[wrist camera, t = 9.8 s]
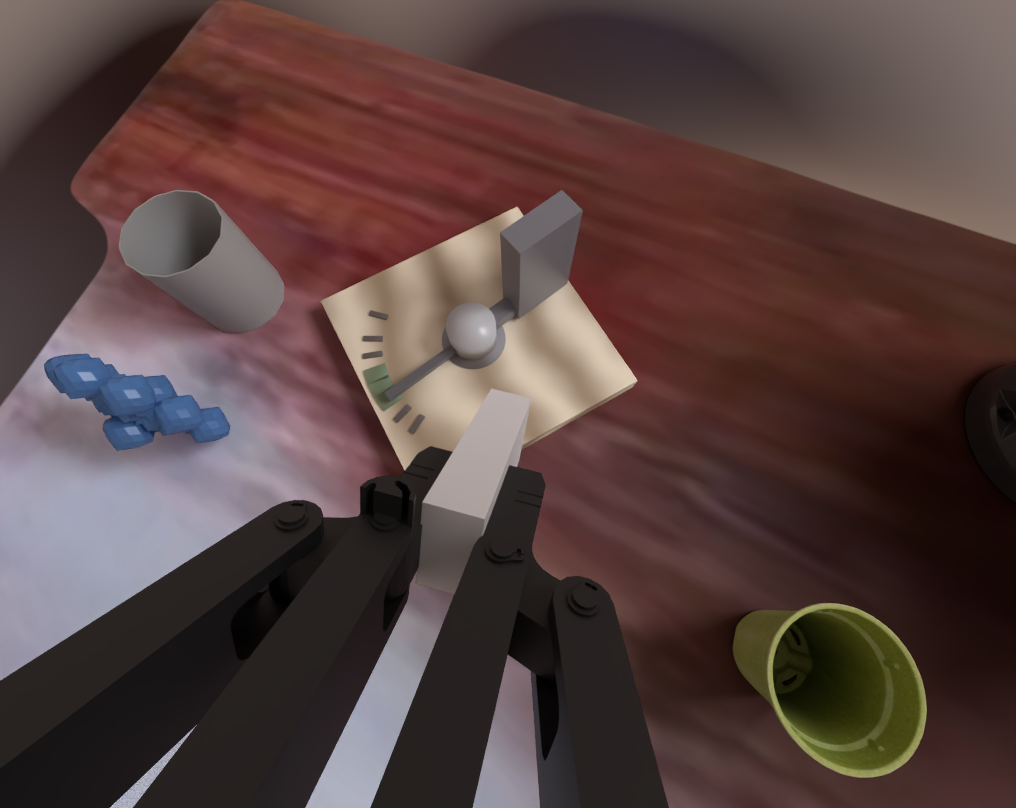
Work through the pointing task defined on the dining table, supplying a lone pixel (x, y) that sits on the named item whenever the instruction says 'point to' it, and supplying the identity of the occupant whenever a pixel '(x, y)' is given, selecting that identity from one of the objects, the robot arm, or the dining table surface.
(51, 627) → the dining table surface
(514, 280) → the lever dial gauge
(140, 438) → the grapes
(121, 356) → the dining table surface
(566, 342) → the dial plate
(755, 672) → the plant pot
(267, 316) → the cup
